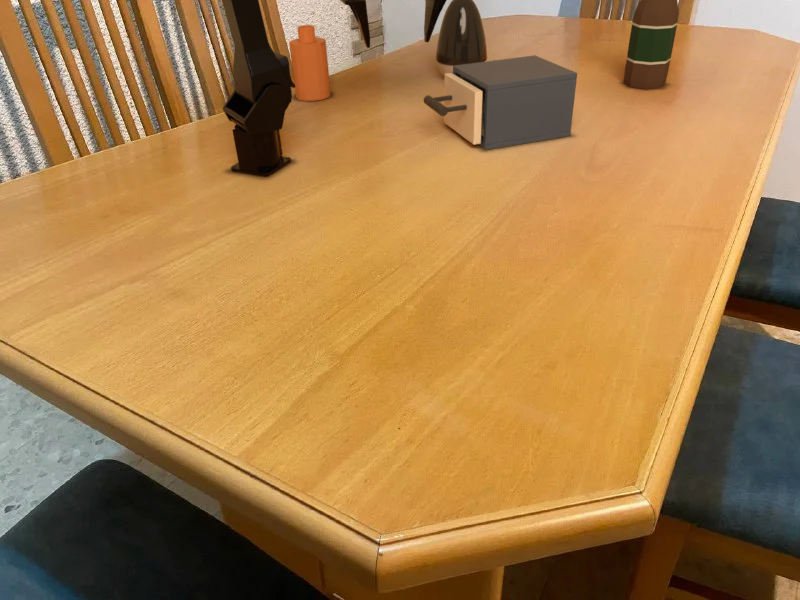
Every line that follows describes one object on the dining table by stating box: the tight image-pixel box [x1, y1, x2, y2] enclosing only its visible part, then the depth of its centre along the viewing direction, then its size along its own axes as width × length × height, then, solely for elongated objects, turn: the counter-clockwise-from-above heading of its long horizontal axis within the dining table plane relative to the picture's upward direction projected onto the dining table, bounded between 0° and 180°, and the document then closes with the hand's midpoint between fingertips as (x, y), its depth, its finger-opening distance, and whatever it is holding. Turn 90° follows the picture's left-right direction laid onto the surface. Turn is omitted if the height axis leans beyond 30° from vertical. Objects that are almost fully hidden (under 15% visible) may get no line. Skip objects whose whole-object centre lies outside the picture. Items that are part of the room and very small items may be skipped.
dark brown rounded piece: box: [435, 0, 488, 76], centre depth 126 cm, size 10×10×15 cm
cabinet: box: [453, 54, 578, 151], centre depth 100 cm, size 15×13×10 cm
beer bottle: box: [623, 0, 680, 90], centre depth 115 cm, size 8×8×24 cm
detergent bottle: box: [288, 24, 331, 102], centre depth 120 cm, size 7×7×12 cm
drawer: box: [423, 73, 486, 146], centre depth 99 cm, size 18×11×8 cm, turn 109°
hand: (397, 44), depth 97 cm, fingers open, 9 cm apart
